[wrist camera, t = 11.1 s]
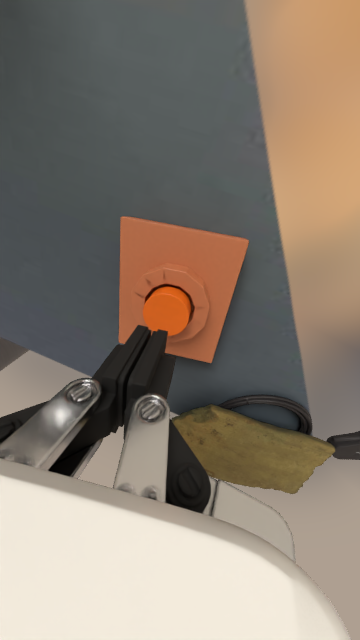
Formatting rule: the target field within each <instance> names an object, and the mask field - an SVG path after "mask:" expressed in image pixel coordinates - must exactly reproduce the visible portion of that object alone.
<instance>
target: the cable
mask: <svg viewBox="0 0 360 640" xmlns="http://www.w3.org/2000/svg"><path fill="white" fill-rule="evenodd" d="M247 404H248V405H249V404H272V405H277V406H281V407H284V408H287V409H289V410H291V411H293V412H295V413H296V414H297V415H298V416H299V417H300V419H301V428H300V430H299V432H300V433H303V434H306V435H310V434H311V432H312V420H311V416H310V414H309V413H308V411H307V410H306V409H305V408H304V407H303V406H302V405H300V404H298V403H297V402H294V401H292V400H290V399H287V398H283V397H278V396H272V395H251V396H244V397H239V398H235V399H232V400H229V401H227V402H225V403H222V404H221V405H219V407H221V408H224V409H228V410H230V409H232V408H234V407H238V406H241V405H247ZM327 442H328V443H330V444H332V445H333V446H334V447H335V452H334V453H333V454H332V455H333V456H334V457H335V458H337V459H352V460H353V459H355V460H360V431H359V432H355V433H349V434H343V435H336V436H331V437H329V438H328V439H327Z"/></svg>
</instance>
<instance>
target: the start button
mask: <svg viewBox="0 0 360 640" xmlns="http://www.w3.org/2000/svg"><path fill="white" fill-rule="evenodd" d="M190 312H191V304H190V301H189V298H188V297H187V295H186V294H185V293H184V292H183V291H181V290H180V289H178V288H175V287H170V286H166V287H161V288H159V289H157V290H156V291H154V292H153V294H152V295H151V296H150V297H149V299H148V300H147V301H146V303H145V305H144V307H143V318H144V321H145V323H146V324H147V326H148V327H149V328H150V329H151V330H152V331H157V330H158V329H160V330H165V331H168V336H172V335H176V334H178V333H180V332H182V331H183V330H184V329H185V328H186V326H187V324H188V321H189V317H190Z"/></svg>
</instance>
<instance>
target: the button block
mask: <svg viewBox="0 0 360 640" xmlns="http://www.w3.org/2000/svg"><path fill="white" fill-rule="evenodd" d="M248 244H249V241H248V240H247V239H245V238H240V237H235V236H230V235H225V234H219V233H214V232H209V231H203V230H198V229H193V228H188V227H182V226H177V225H172V224H166V223H161V222H156V221H151V220H145V219H140V218H135V217H121V234H120V303H119V343H123V344H125V343H126V341H127V340H128V338H129V337H130V335H131V334H132V333H133V331H134V330H135V328H136V327H137V325H142V326H146V327H148V326H147V324H146V323H145V321H144V318H143V307H144V305H145V303H146V301H147V300H148V299H149V297H150V296H151V295H152V294H153V292H154V291H156V290H157V289H159V288H161V287H166V286H170V287H175V288H178V289H180V290H181V291H183V292H184V293H185V294H186V295H187V297H188V298H189V301H190V304H191V312H190V317H189V321H188V324H187V326H186V328H185V329H184V330H183V331H182V332H180V333H178V334H176V335H172V336H167V342H166V349H165V353H168V354H173V355H177V356H182V357H186V358H191V359H195V360H200V361H204V362H209V363H212V359H213V356H214V353H215V350H216V347H217V343H218V340H219V337H220V334H221V331H222V327H223V324H224V321H225V318H226V315H227V311H228V308H229V305H230V302H231V299H232V295H233V292H234V289H235V286H236V283H237V279H238V276H239V273H240V270H241V266H242V263H243V260H244V257H245V254H246V250H247V247H248ZM148 330H151V329H150V328H149V327H148ZM152 333H153V331H152V330H151V335H152Z"/></svg>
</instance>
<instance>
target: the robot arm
mask: <svg viewBox="0 0 360 640" xmlns="http://www.w3.org/2000/svg"><path fill="white" fill-rule="evenodd" d="M167 336H168V331H165V330H160V329H158V330H157V331H153V333H152V335H151V330H148V327H146V326H142V325H137V327H136V328H135V330H134V331H133V333H132V334H131V335H130V337H129V338H128V340H127V341H126V343H125V344H124V345H119V344H118V345H117V346H116V347H115V348H114V349H113V351H112V352H111V353H110V355H109V356H108V357H107V359H106V360H105V361H104V362H103V364H102V365H101V366H100V368H99V369H98V370H97V372H96V373H95V374H94V376H93V377H92V378H81V379H77V380H74V381H72V382H70V383H69V384H68V385H66V386H65V387H64V388H63V389H62V390H61V391H60V392H58V393H57V394H56V395H55V396H54V397H53V398H52V399H51V400H49V401H47V402H44V403H41V404H38V405H35V406H32V407H30V408H26V409H24V410H21V411H18V412H15V413H12V414H9V415H7V416H4V417H1V418H0V640H351V638H350V636H349V634H348V631H347V629H346V628H345V625H344V623H343V622H342V620H341V618H340V616H339V615H338V613H337V611H336V609H335V608H334V606H333V605H332V603H331V602H330V600H329V599H328V597H327V596H326V595H325V594H324V593H323V591H322V590H321V589H320V587H319V586H318V585H317V584H316V583H315V582H314V581H313V580H312V579H311V578H310V577H309V576H308V575H307V574H306V573H305V571H304V570H303V569H302V568H301V567H299V566H298V565H297V564H296V562H295V549H294V542H293V537H292V533H291V531H290V529H289V527H288V525H287V522H286V521H285V520H284V519H283V517H282V516H281V515H280V513H278V512H277V511H276V510H274V509H273V508H272V507H270V506H268V505H266V504H264V503H263V502H261V501H259V500H257V499H255V498H254V497H252V496H250V495H248V494H246V493H244V492H243V491H241V490H239V489H237V488H235V487H233V486H232V485H230V484H228V483H226V482H224V481H223V480H221V479H219V480H218V481H217V480H215V479H214V478H212V477H210V476H208V474H207V472H206V471H205V469H204V467H203V466H202V465H201V463H200V462H199V460H198V459H197V457H196V456H195V454H194V453H193V451H192V450H191V448H190V447H189V446H188V444H187V443H186V441H185V440H184V438H183V437H182V435H181V434H180V432H179V431H178V430H177V428H176V427H175V425H174V424H173V422H172V421H171V419H170V418H169V417H170V407H169V404H168V402H167V400H166V399H167V395H168V391H169V387H170V383H171V379H172V375H173V370H174V365H175V360H176V357H172V356H167V355H165V349H166V342H167ZM123 425H124V444H123V448H122V452H121V457H120V460H119V465H118V469H117V473H116V477H115V481H114V485H113V488H109V487H106V486H102V485H98V484H94V483H91V482H87V481H83V480H80V479H78V478H79V476H80V475H81V473H82V471H83V470H84V469H85V467H86V466H87V464H88V463H89V461H90V459H91V458H92V457H93V455H94V454H95V452H96V451H97V449H98V448H99V446H100V444H101V442H102V440H103V438H104V437H106V436H108V435H110V433H111V432H113V433H116V431H117V429H118V427H119V426H121V427H122V426H123Z"/></svg>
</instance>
